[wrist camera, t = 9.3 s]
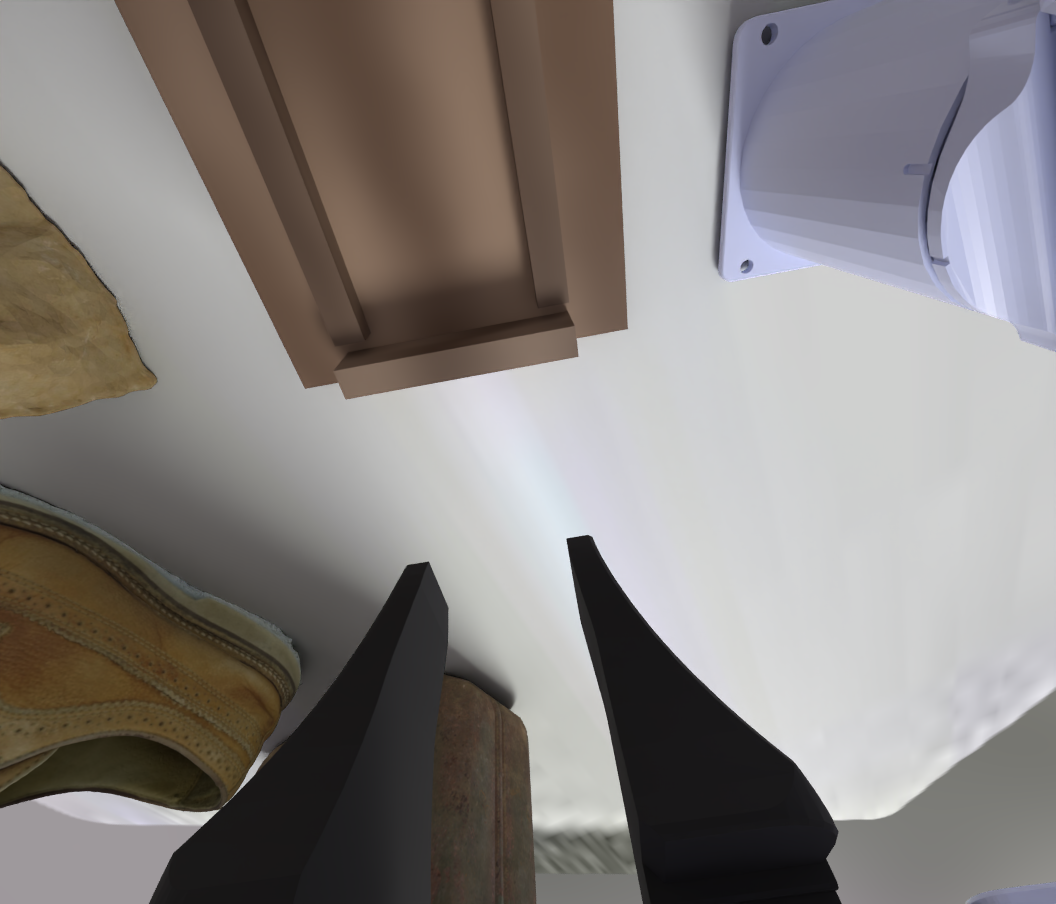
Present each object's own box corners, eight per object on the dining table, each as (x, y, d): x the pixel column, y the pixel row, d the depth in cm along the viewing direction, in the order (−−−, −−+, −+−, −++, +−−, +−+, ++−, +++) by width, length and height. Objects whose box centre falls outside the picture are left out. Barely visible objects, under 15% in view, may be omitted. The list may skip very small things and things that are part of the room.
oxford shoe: (349, 632, 30) (282, 847, 21) (275, 693, 34) (189, 900, 24) (-244, 366, 18) (-1031, 588, 9) (-260, 505, 22) (-830, 767, 13)
